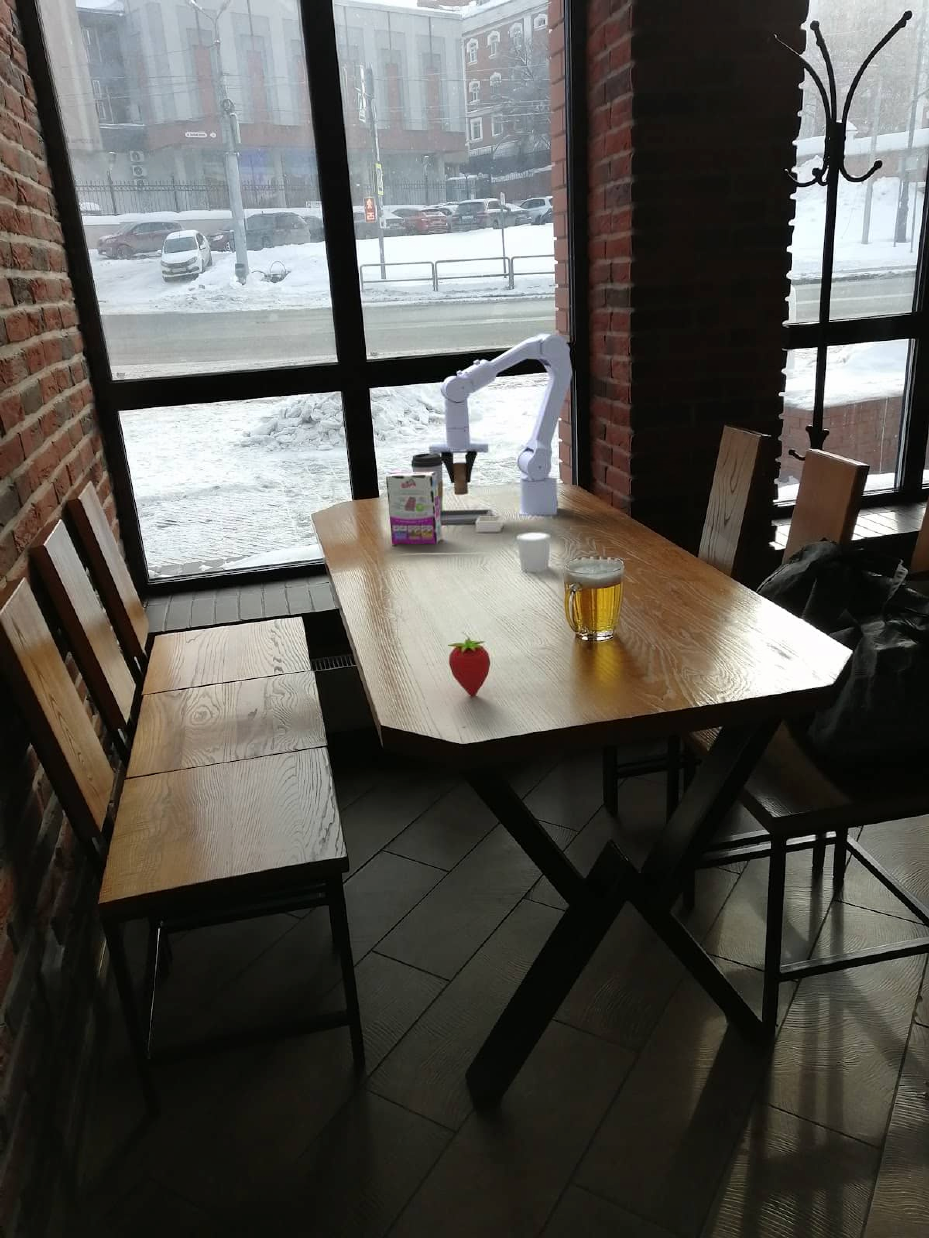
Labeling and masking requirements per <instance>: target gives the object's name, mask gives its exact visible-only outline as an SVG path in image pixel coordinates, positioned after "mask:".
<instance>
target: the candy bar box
mask: <svg viewBox="0 0 929 1238" xmlns="http://www.w3.org/2000/svg"><path fill="white" fill-rule="evenodd" d="M385 482H386V490H387V491H386V492H387V493H386V494H387V500H388V501H387V503H388V504H387V505H388V515H389V524H390V534H391V535H390V537H391V544H395V545H394V546H398V545H399V544H400V545H407V544H408V545H412V544H413V545H438V543H439V542H441V540H443V534H442V531H443V530H442V525H441V519H440V505H439V492H438V479H437V472H413V471H410V472H409V471H406V472H405V471H404V472H403V471H400V472H391V473H389V474H387V475H386V476H385ZM396 544H397V545H396Z"/></svg>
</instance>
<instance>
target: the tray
mask: <svg viewBox="0 0 929 1238" xmlns="http://www.w3.org/2000/svg"><path fill="white" fill-rule="evenodd" d="M491 515H492V516H493V509H492V508H489V509H459V510H458V509H450V510H449V509H448V510H447V509H446V510H443V509H442V510H441V511H440V519H441V526H445V525H448V526H449V524H450V525H452V524H453V525H476V520H477V518H478V516H491Z"/></svg>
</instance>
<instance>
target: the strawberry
mask: <svg viewBox="0 0 929 1238" xmlns="http://www.w3.org/2000/svg"><path fill="white" fill-rule="evenodd" d="M461 633H462V634H463V635H465V636H466V637H467V639H465V641H464V642H455V643H452V644H451V643H450V644H448V645H447V646H448V647H454V648H453V649H452V650H451V652H450V653H449V657H448V664H449V668H450V671H451V673H452V675H453V677H454V678H455V680H456V681H457V683H458V684H459V685H460V687H462V688H463V689H464V691H465V692H466V694H467V695H469V696H471V697H474V696H476V695H477V694H478V692H479V690H480V689H481V687H482V686H483V684H484V683H485V681H486V679H487V677H488V675H489V671H490V666H491V660H490V654H489V652H487V650H486V649H485V646H482V645H481V644H483V643H485V640H482V641H481V640H480V641H479V640H478V641H475V640H471V638H470V637H469V636H468V635H467V634H466V633H465V632H464V631H461Z"/></svg>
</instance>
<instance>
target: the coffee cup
mask: <svg viewBox="0 0 929 1238" xmlns="http://www.w3.org/2000/svg"><path fill="white" fill-rule="evenodd" d="M443 465H444V463H443V461H442V459H441V454H431V455H430V454H429V452H428V453H419V454H414V455H412V459H411V464H410V466H411V468H412V469H411V470H412V472H437V479H438V492H439V505H440V511H441V510H443V494H444V491H443V490H444V487H443V486H444V484H443V483H444V482H443V481H444V480H443Z"/></svg>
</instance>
